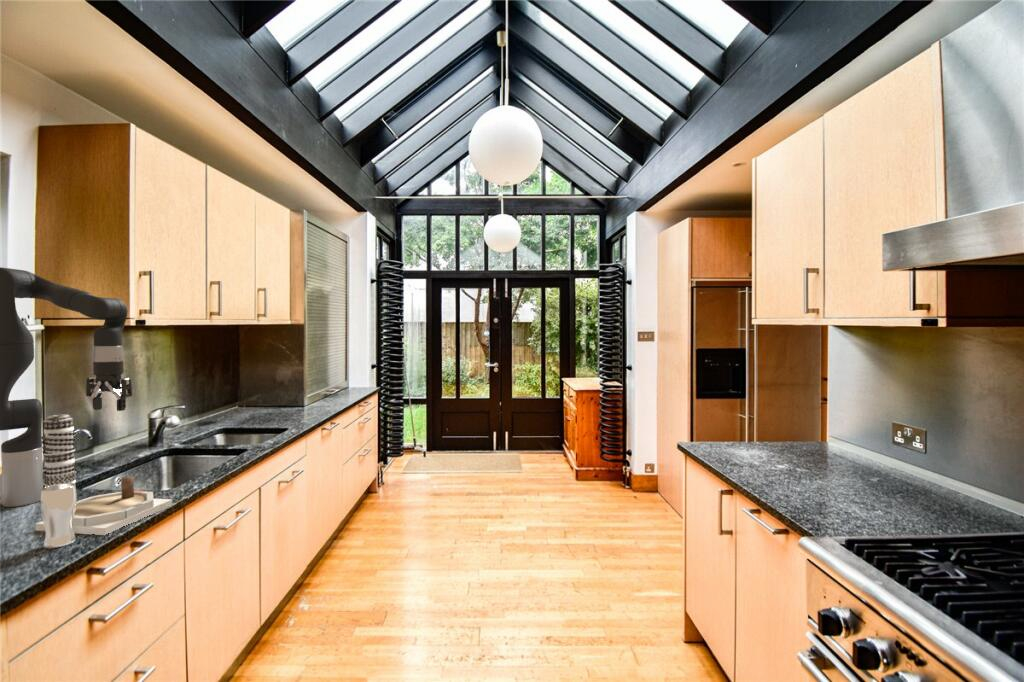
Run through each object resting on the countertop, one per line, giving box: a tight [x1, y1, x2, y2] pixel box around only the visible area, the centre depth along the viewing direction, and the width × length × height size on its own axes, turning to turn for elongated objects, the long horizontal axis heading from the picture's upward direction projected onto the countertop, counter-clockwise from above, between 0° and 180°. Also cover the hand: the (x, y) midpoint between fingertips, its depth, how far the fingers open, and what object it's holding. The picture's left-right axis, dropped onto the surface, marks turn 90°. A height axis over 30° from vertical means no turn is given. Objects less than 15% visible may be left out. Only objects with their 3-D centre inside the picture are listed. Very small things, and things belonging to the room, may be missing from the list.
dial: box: [75, 476, 144, 516], centre depth 143 cm, size 17×17×8 cm
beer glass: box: [39, 482, 78, 549], centre depth 126 cm, size 7×7×15 cm
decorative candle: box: [42, 413, 77, 487], centre depth 173 cm, size 9×9×25 cm
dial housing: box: [35, 490, 173, 536], centre depth 143 cm, size 22×22×4 cm
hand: (109, 410), depth 155 cm, fingers open, 8 cm apart
